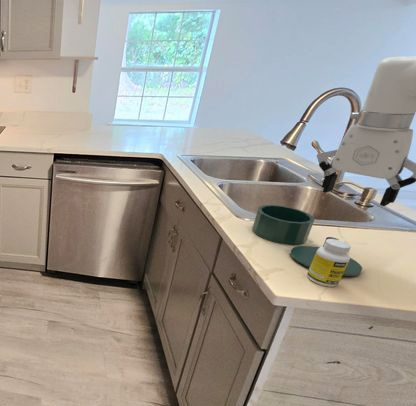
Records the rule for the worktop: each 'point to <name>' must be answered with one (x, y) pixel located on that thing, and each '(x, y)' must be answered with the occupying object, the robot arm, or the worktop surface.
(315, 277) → the supplement bottle
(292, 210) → the pot
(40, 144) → the worktop surface
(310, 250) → the lid
